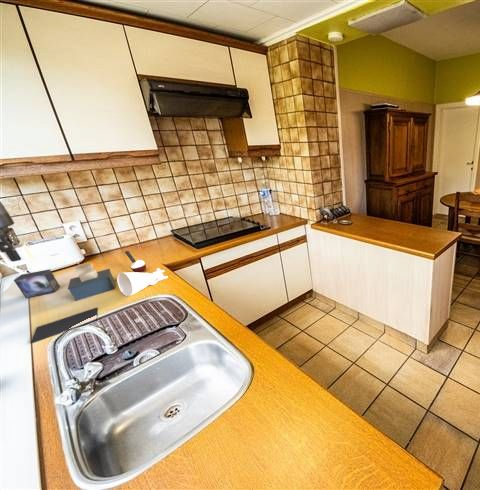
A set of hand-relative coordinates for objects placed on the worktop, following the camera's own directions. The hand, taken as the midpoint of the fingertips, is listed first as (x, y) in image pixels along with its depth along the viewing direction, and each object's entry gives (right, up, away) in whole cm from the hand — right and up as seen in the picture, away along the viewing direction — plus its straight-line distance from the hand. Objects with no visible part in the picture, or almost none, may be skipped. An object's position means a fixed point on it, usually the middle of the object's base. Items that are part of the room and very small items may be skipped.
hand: (18, 258), depth 98 cm
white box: (0, -2, +1) cm, 2 cm away
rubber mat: (+7, -27, +10) cm, 30 cm away
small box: (-33, -19, +34) cm, 51 cm away
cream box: (-6, -11, +31) cm, 34 cm away
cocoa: (+2, -10, +50) cm, 52 cm away
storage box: (-6, -18, +34) cm, 39 cm away
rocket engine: (+20, -16, +34) cm, 43 cm away
